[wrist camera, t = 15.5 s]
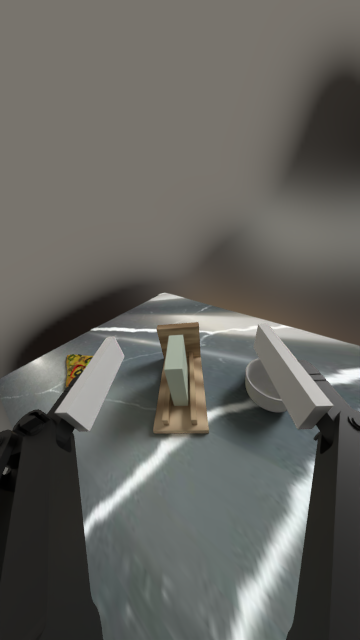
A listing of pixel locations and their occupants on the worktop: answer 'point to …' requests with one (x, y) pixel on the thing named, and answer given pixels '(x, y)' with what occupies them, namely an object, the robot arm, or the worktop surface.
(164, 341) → the track
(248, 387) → the teacup
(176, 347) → the pale green block
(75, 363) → the pizza slice
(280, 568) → the worktop surface
